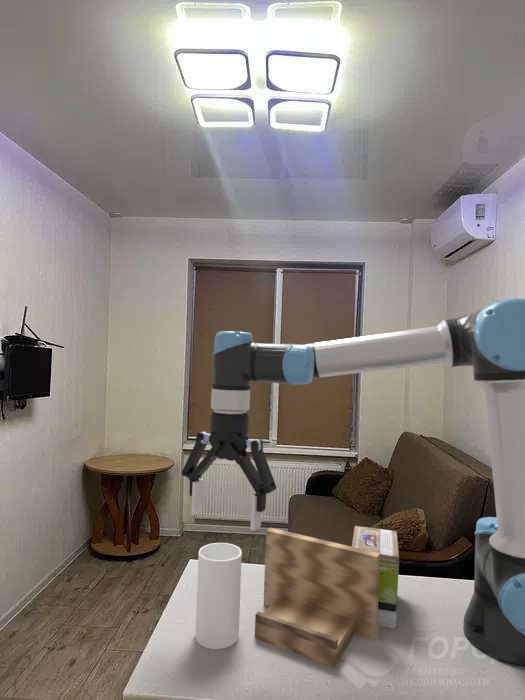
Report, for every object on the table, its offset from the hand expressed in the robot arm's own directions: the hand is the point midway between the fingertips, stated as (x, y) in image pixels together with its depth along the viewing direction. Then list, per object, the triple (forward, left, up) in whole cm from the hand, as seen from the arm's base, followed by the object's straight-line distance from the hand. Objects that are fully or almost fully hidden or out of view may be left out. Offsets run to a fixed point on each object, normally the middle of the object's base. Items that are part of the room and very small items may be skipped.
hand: (225, 520), depth 89 cm
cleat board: (-14, -8, -21) cm, 27 cm away
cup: (0, +1, -22) cm, 22 cm away
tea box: (-23, -25, -22) cm, 40 cm away
